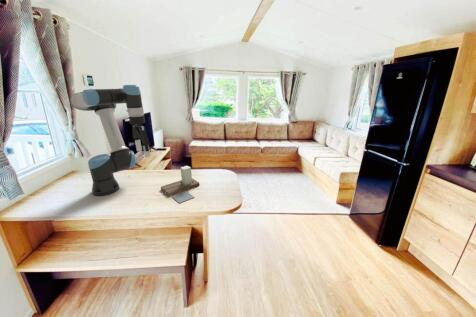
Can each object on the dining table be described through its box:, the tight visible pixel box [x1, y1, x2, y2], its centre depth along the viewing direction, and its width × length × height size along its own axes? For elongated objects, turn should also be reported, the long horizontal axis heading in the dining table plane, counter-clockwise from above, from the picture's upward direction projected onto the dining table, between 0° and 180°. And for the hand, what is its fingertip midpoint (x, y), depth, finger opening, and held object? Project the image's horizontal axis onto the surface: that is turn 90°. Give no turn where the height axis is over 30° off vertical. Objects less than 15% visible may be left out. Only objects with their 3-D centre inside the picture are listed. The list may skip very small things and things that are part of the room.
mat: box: [171, 190, 195, 204], centre depth 126 cm, size 10×10×1 cm
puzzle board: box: [160, 177, 200, 197], centre depth 138 cm, size 12×22×2 cm, turn 132°
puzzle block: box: [180, 165, 193, 186], centre depth 139 cm, size 5×5×13 cm
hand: (143, 153), depth 116 cm, fingers open, 13 cm apart
